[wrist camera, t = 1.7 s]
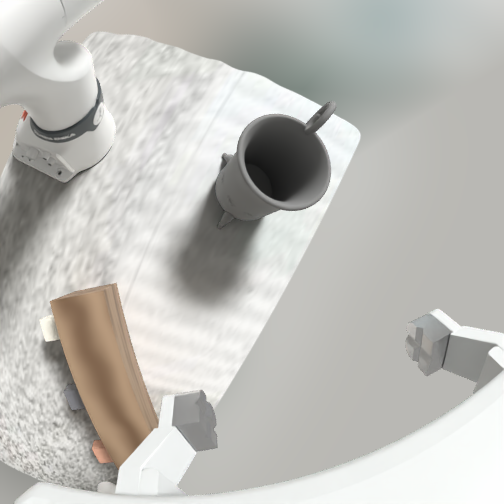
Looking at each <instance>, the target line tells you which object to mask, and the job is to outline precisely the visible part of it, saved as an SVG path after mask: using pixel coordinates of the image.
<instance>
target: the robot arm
mask: <svg viewBox="0 0 504 504" xmlns="http://www.w3.org/2000/svg"><path fill="white" fill-rule="evenodd" d="M103 1H104V0H0V108H1V107H4V106H7V105H11V104H18V105H20V106H22V107H23V108H24V109H25V110H24V112H23V114H22V116H21V118H20V120H19V123H18V125H17V129H16V136H15V140H14V145H13V156H14V157H15V158H16V159H17V160H19V161H21V162H23V163H25V164H27V165H29V166H31V167H33V168H35V169H37V170H39V171H41V172H43V173H45V174H46V175H48V176H50V177H52V178H54V179H56V180H58V181H60V182H63V183H65V182H68V181H69V180H70V179H72V178H73V177H74V176H75V175H76V174H77V173H78V172H80V171H82V170H85V169H87V168H90V167H92V166H93V165H95V164H96V163H98V162H99V161H100V160H101V159H102V158H103V157H104V156H105V155H106V154H107V153H108V151H109V150H110V148H111V146H112V144H113V141H114V138H115V132H116V127H115V122H114V119H113V117H112V115H111V114H110V113H109V111H108V110H107V108H106V106H105V105H104V100H103V95H102V91H101V87H100V83H99V81H98V79H97V78H96V75H95V70H94V65H93V59H92V55H91V53H90V52H89V51H88V49H87V48H86V47H85V46H83V45H82V44H80V43H78V42H75V41H58V40H59V39H60V38H61V37H62V36H63V34H64V33H65V32H66V31H67V30H68V29H69V28H70V27H72V26H73V25H74V24H75V23H76V22H77V21H78V20H80V19H81V18H82V17H84V16H85V15H86V14H87V13H89V12H90V11H91V10H92V9H93V8H95V7H96V6H98V5H99V4H100V3H101V2H103ZM17 144H18V145H17ZM59 172H62V173H61V175H59ZM406 331H407V332H408V333H409V335H408V337H407V338H406V343H405V346H406V351H407V353H408V355H409V357H410V358H411V359H412V360H414V361H417V362H418V367H419V369H420V370H421V371H422V372H423V373H424V374H425V376H428V375H430V374H432V373H434V372H436V371H438V370H439V369H441V368H443V369H444V370H447V371H449V372H452V373H454V374H457V375H459V376H462V377H464V378H467V379H469V380H472V381H474V382H477V384H476V387H475V389H474V392H473V395H471V396H470V397H469V398H467V399H466V400H464V401H463V402H462V403H460V404H459V405H457V406H456V407H454V408H453V409H451V410H450V411H448V412H447V413H445V414H444V415H442V416H440V417H439V418H437V419H435V420H434V421H432V422H430V423H429V424H427V425H425V426H423V427H422V428H420V429H418V430H416V431H414V432H413V433H411V434H409V435H407V436H405V437H403V438H401V439H399V440H397V441H395V442H393V443H391V444H389V445H387V446H385V447H382V448H380V449H378V450H376V451H374V452H371V453H369V454H367V455H364V456H362V457H359V458H357V459H354V460H352V461H349V462H346V463H344V464H341V465H338V466H335V467H332V468H329V469H326V470H323V471H320V472H317V473H314V474H310V475H307V476H303V477H300V478H296V479H293V480H288V481H284V482H280V483H276V484H271V485H266V486H261V487H256V488H251V489H245V490H238V491H231V492H224V493H216V494H205V495H189V496H188V495H187V494H186V493H185V492H184V491H182V490H181V489H180V488H178V487H177V485H178V483H179V481H180V480H181V478H182V476H183V475H184V473H185V471H186V470H187V468H188V466H189V465H190V463H191V461H192V460H193V458H194V456H195V454H196V452H197V451H203V450H209V449H215V448H217V447H218V446H217V434H216V432H215V431H214V428H215V426H216V417H215V413H214V410H213V407H212V406H211V404H210V403H209V402H207V401H206V395H205V393H204V392H203V390H197V391H191V392H184V393H177V394H172V395H164V397H163V398H162V403H161V410H160V416H159V424H158V428H154V430H153V431H152V432H151V433H150V434H149V435H148V436H147V437H146V439H145V440H144V441H143V442H142V443H141V444H140V445H139V446H138V448H137V449H136V450H135V451H134V452H133V453H132V454H131V455H130V456H129V458H128V459H127V460H126V461H125V462H124V463H123V464H122V465H121V466H120V468H119V473H118V479H117V485H116V491H115V494H110V493H102V492H94V491H88V490H82V489H76V488H71V487H66V486H61V485H57V484H53V483H49V482H43V481H42V482H38V483H36V484H35V485H33V486H32V487H30V488H29V489H28V490H27V491H26V492H24V493H23V494H22V495H21V496H19V497H18V498H17V499H16V500H15V502H14V504H504V333H499V332H493V331H488V330H483V329H477V328H472V327H467V326H463V327H461V326H460V325H458V324H457V323H456V322H455V321H454V320H452V319H451V318H450V317H449V316H447V315H446V314H445V313H444V312H442V311H441V310H440V309H435V310H433V311H432V312H429V313H428V314H426V315H424V316H422V317H420V318H418V319H415V320H413V321H411V322H409V323H408V325H407V330H406Z"/></svg>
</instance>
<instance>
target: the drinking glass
mask: <svg viewBox="0 0 504 504" xmlns="http://www.w3.org/2000/svg"><path fill="white" fill-rule="evenodd" d="M115 491H116V485H115V484H113V483H111V482H107V481H103V482H100V483H99V484H98V486H97V492H102V493H110V494H115Z"/></svg>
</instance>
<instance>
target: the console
mask: <svg viewBox="0 0 504 504" xmlns="http://www.w3.org/2000/svg"><path fill="white" fill-rule="evenodd" d="M50 304H51V308H52V312H53V316H54V320H55V324H56V327H57V331H58V334H59V338H60V341H61V344H62V347H63V351H64V354H65V357H66V360H67V363H68V365H69V368H70V371H71V374H72V376H73V379H74V382H75V384H76V387H77V389H78V392H79V394H80V396H81V399H82V401H83V403H84V406H85V408H86V410H87V412H88V414H89V417H90V419H91V421H92V423H93V425H94V427H95V429H96V431H97V433H98V435H99V437H100V439H101V441H102V443H103V444H104V446H105V448H106V450H107V452H108V453H109V455H110V457H111V459H112V460H113V462H114V464H115V465H116V467H117V469H118V470H119V468H120V466H121V465H122V464H123V463H124V462H125V461H126V460H127V459H128V458H129V456H130V455H131V454H132V453H133V452H134V451H135V450H136V449H137V448H138V446H139V445H140V444H141V443H142V442H143V441H144V440H145V439H146V437H147V436H148V435H149V434H150V433H151V432H152V431H153V430H154V428H158V424H159V420H158V418H157V415H156V413H155V410H154V408H153V405H152V403H151V400H150V397H149V395H148V392H147V389H146V386H145V383H144V381H143V378H142V375H141V372H140V369H139V366H138V363H137V359H136V356H135V353H134V350H133V346H132V343H131V340H130V336H129V332H128V329H127V325H126V321H125V318H124V314H123V310H122V306H121V301H120V297H119V293H118V288H117V283H114V284H109V285H104V286H99V287H94V288H90V289H85V290H80V291H75V292H72V293H70V294H67V295H65V296H62V297H59V298H57V299H54V300H52V301H50Z"/></svg>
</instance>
